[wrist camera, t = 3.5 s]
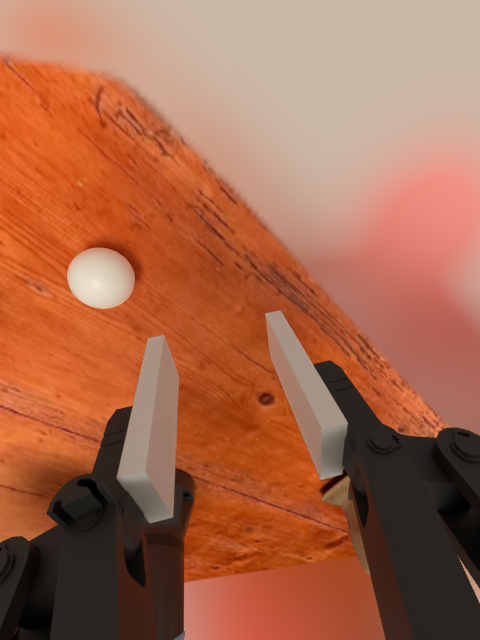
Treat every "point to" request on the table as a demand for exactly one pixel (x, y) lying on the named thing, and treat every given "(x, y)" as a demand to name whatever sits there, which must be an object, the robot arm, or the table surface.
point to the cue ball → (101, 278)
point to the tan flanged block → (347, 515)
